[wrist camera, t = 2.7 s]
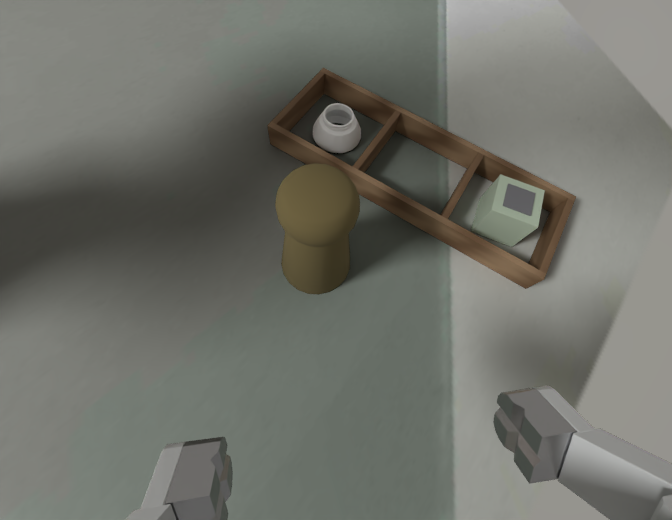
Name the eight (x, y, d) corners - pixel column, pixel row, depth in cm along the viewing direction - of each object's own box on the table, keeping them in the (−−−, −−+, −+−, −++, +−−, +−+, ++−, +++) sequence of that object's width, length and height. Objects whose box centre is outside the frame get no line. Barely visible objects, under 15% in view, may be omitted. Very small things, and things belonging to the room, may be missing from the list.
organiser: (270, 143, 34) (267, 125, 31) (322, 88, 37) (323, 67, 35) (525, 288, 29) (544, 279, 27) (557, 210, 33) (576, 196, 31)
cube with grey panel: (470, 231, 31) (492, 209, 28) (479, 199, 33) (501, 173, 29) (511, 247, 31) (539, 226, 27) (518, 213, 33) (545, 189, 29)
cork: (345, 228, 30) (362, 144, 20) (354, 290, 28) (378, 232, 18) (279, 233, 30) (263, 149, 20) (283, 297, 28) (267, 240, 17)
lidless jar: (323, 112, 36) (305, 146, 34) (324, 89, 33) (304, 124, 31) (366, 127, 36) (350, 162, 34) (371, 105, 33) (354, 141, 31)
